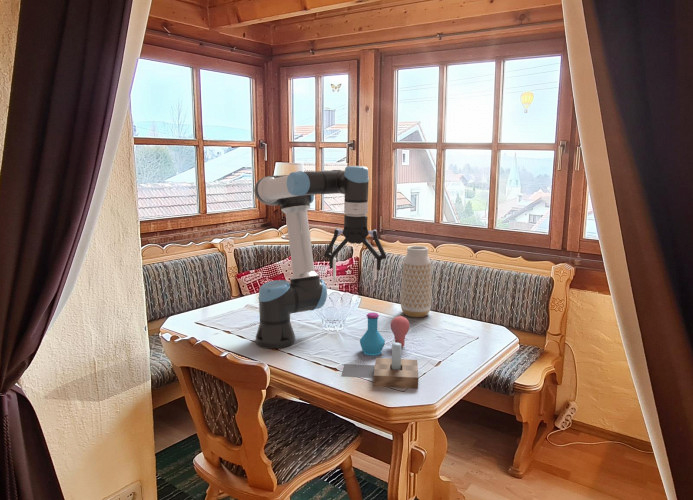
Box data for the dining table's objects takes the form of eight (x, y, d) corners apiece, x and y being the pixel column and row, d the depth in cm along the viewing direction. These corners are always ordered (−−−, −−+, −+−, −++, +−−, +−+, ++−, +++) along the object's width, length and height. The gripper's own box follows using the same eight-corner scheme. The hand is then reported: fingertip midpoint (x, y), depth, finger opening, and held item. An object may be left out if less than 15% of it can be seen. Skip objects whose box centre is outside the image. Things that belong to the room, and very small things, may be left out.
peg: (391, 380, 173) (392, 345, 170) (391, 376, 176) (392, 342, 173) (400, 381, 172) (401, 346, 170) (400, 377, 175) (401, 342, 173)
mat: (341, 377, 175) (341, 376, 175) (344, 364, 185) (344, 363, 184) (377, 379, 174) (377, 378, 174) (378, 366, 183) (378, 365, 183)
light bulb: (396, 351, 196) (397, 320, 194) (386, 345, 203) (387, 315, 200) (412, 348, 200) (413, 318, 197) (402, 342, 206) (402, 312, 203)
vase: (435, 312, 242) (438, 246, 235) (423, 321, 230) (425, 252, 224) (408, 307, 249) (410, 243, 243) (394, 315, 237) (396, 248, 231)
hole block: (373, 387, 168) (373, 375, 167) (375, 368, 182) (375, 357, 181) (418, 389, 166) (418, 377, 166) (416, 370, 180) (417, 359, 179)
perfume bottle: (358, 348, 199) (358, 310, 196) (382, 347, 200) (383, 309, 197) (361, 358, 190) (361, 318, 188) (386, 357, 191) (387, 317, 188)
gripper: (315, 215, 168) (315, 280, 172) (394, 217, 166) (392, 283, 170) (319, 212, 175) (318, 274, 180) (394, 214, 173) (392, 276, 178)
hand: (354, 278), depth 175 cm, fingers open, 13 cm apart
